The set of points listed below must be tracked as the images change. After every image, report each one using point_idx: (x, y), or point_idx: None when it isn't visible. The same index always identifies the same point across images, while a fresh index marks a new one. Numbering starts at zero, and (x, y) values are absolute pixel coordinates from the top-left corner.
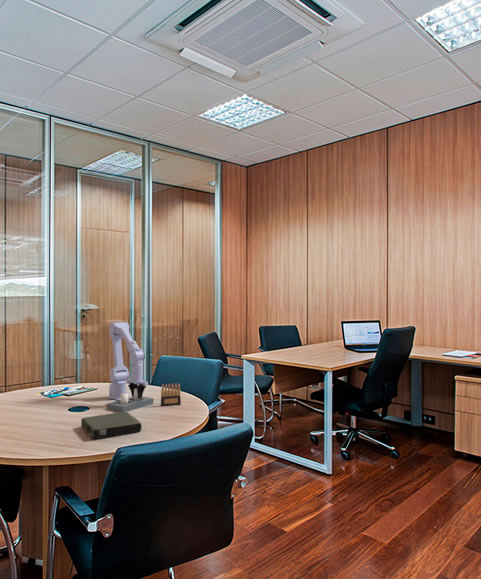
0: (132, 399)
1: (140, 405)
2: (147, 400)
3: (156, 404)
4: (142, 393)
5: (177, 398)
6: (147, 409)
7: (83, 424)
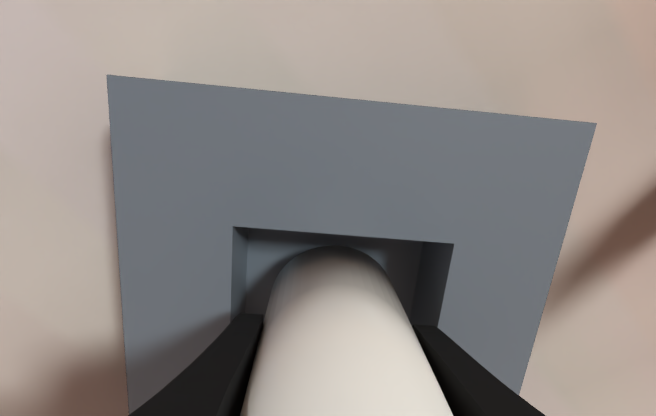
0: None
1: None
2: (544, 281)
3: None
4: (491, 386)
5: None
6: (602, 383)
7: None
